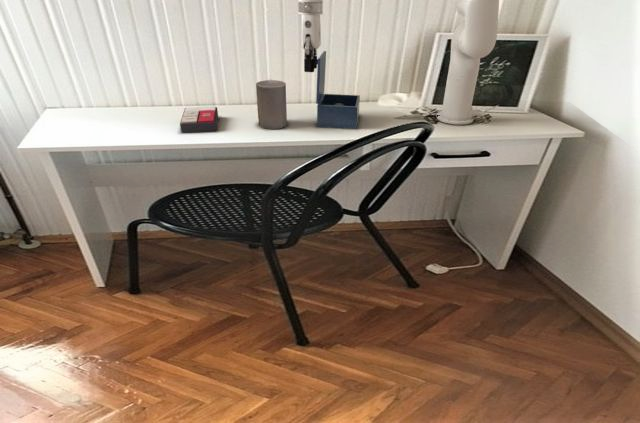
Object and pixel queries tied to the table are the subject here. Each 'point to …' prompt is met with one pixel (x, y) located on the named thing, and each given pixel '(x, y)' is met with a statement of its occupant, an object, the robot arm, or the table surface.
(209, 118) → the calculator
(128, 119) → the table surface
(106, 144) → the table surface
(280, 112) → the pillar candle
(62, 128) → the table surface
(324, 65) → the lid
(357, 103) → the case
